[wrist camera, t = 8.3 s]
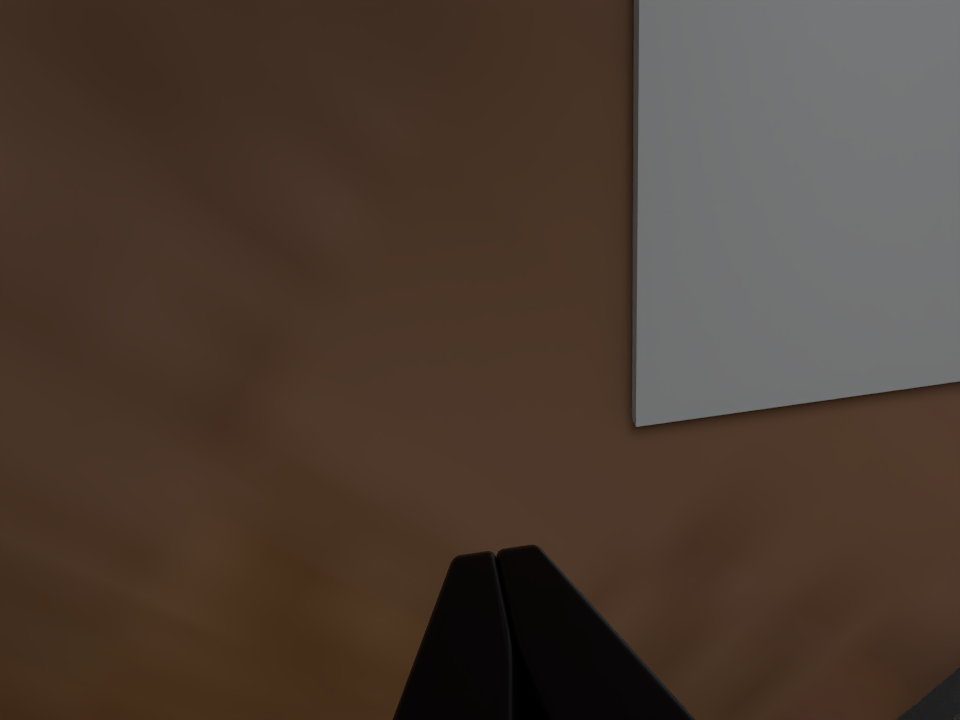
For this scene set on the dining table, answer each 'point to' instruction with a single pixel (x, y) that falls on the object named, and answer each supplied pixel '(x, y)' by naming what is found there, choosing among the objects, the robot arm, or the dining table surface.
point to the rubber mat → (793, 202)
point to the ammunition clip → (938, 702)
